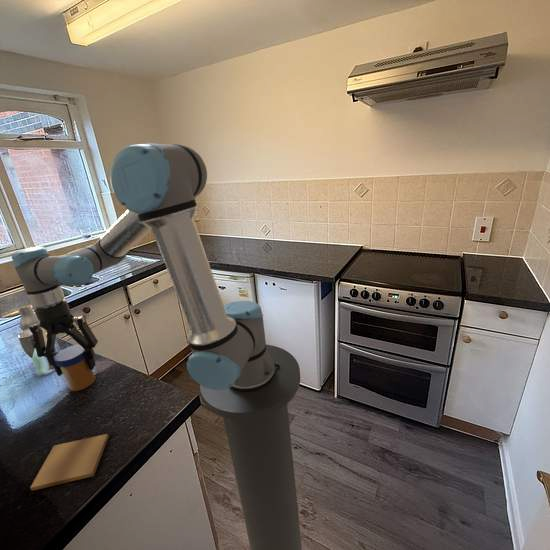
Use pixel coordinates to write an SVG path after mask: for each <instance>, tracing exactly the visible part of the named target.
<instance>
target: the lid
mask: <svg viewBox="0 0 550 550" xmlns="http://www.w3.org/2000/svg"><path fill="white" fill-rule="evenodd" d="M84 350H85V349H84V348H82V347H81V346H80V345H79V344H73V345H70V346H68V347H65V348H62V349H61V350H59V351H57V352H58V353H57V354H56V355H55V356H54V362H55V364H56V365H57V366H58V367H68V366H72V365H74V364H77V363H79V362H80V361H82V360H83V359H85V357H84V354H83V351H84Z"/></svg>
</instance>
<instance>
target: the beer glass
mask: <svg viewBox="0 0 550 550" xmlns="http://www.w3.org/2000/svg"><path fill="white" fill-rule="evenodd" d="M42 331H43V336H44V341H45V346H46V344H47V334H46V333H47V331H46V332H45V330H44V329H43V328H42ZM17 337H18V340H19V344H20V346H21V348H22V350H23V352H24V353H25V355H26V356H27V358H29V360H30V361H31V362H32V364H33V366H34V368H35V374H36V375H37V376H39V377H43V376H47V375H49V374H51V373H54V372H56V370H55V368H54V366H51V365H50V363H49V361H48V359H47V358H46V357H44V356H42V357H38V356H37V351H36V347H35V342H34V337H33V334H32V333H31V331H30V330H29V329H26V330H24V331H22V330H21V332H19V333H18V334H17Z"/></svg>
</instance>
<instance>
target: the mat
mask: <svg viewBox="0 0 550 550" xmlns="http://www.w3.org/2000/svg"><path fill="white" fill-rule="evenodd" d="M109 438H110V436H109V434H108V433H105V434H100V435H95V436H91V437H87V438H81V439H78V440H73V441H69V442H68V441H67V442H63V443H59V444H55V445H53V446H52V449H51V450H50V452H49V454H48V455H47V457H46V459H45V460H44V462H43V464H42V466H41V468H40V469H39V471H38V473H37V475H36V477H35V478H34V480H33V482H32V484H31V485H30V487H29V488H30V490H31V491H36V490H37V491H38V490H41V489H45V488H46V489H47V488H50V487H54V486H58V485H62V484H67V483H71V482H74V481H80V480H83V479H87V478H93V477H94V476H95V474H96V472H97V469H98V466H99V464H100V461H101V458H102V455H103V453H104V450H105V448H106V445H107V443H108V440H109Z"/></svg>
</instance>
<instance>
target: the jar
mask: <svg viewBox="0 0 550 550" xmlns="http://www.w3.org/2000/svg"><path fill="white" fill-rule="evenodd" d="M60 369H61V371H62V376H63V378H64V380H65V383H66V385H67V388H68V389H69V391H71V392H78V391H82V390H84V389H86V388H89V387H90V386H91V385H92V384H94V383H95V381H96V379H97V378H96V373H95V372H94V370H90V369H89V367H88V364H87V362H86V359H83V360H82V361H80V362H79V363H77V364H74V365H72V366H68V367H60Z"/></svg>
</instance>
